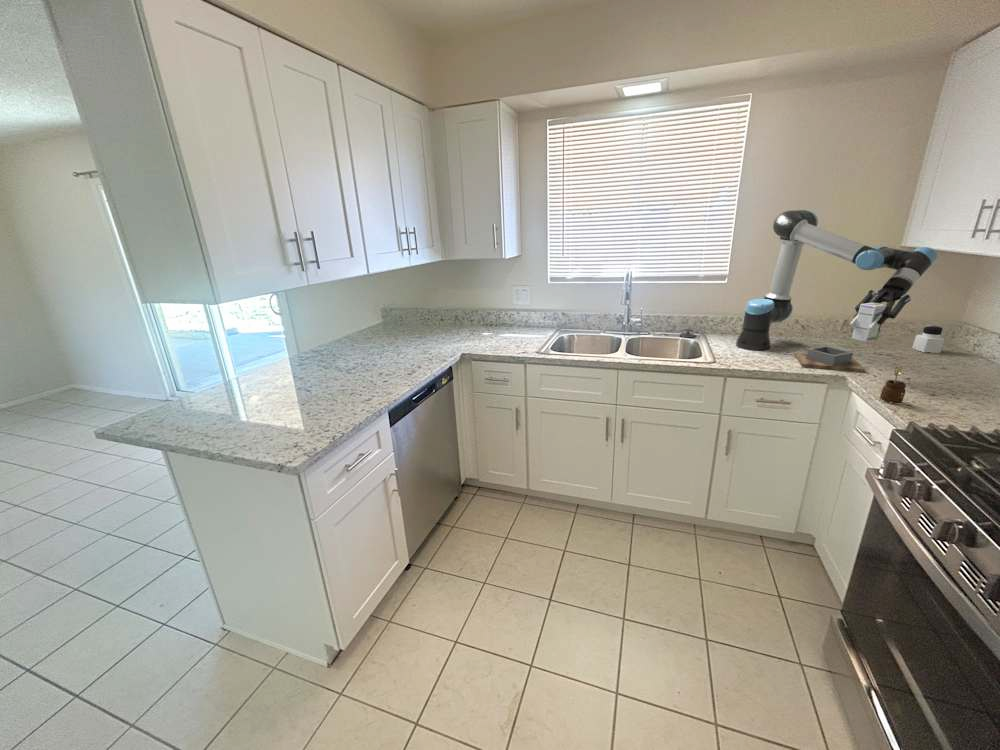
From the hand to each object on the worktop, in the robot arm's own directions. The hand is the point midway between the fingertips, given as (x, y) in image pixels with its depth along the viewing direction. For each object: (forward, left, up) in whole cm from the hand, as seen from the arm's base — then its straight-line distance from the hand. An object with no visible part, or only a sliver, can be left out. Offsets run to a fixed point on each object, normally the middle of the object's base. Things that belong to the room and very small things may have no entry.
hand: (861, 327), depth 165 cm
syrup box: (+3, +3, -6) cm, 7 cm away
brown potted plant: (+6, -26, -20) cm, 34 cm away
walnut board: (-4, +14, -20) cm, 25 cm away
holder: (-4, +14, -19) cm, 24 cm away
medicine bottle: (+42, +50, -20) cm, 68 cm away
